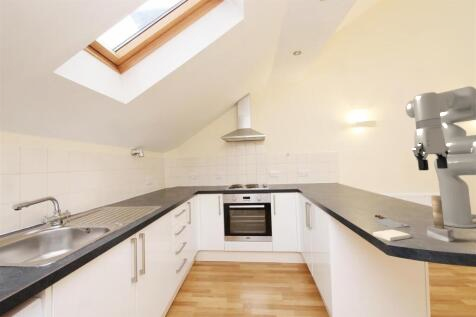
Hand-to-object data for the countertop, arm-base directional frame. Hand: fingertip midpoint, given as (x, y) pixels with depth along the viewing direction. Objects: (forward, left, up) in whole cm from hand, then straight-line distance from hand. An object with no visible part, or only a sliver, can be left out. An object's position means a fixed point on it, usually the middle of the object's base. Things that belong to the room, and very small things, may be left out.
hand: (433, 169), depth 85 cm
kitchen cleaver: (-5, -28, -27) cm, 39 cm away
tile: (+8, -9, -26) cm, 28 cm away
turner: (0, 0, -26) cm, 26 cm away
